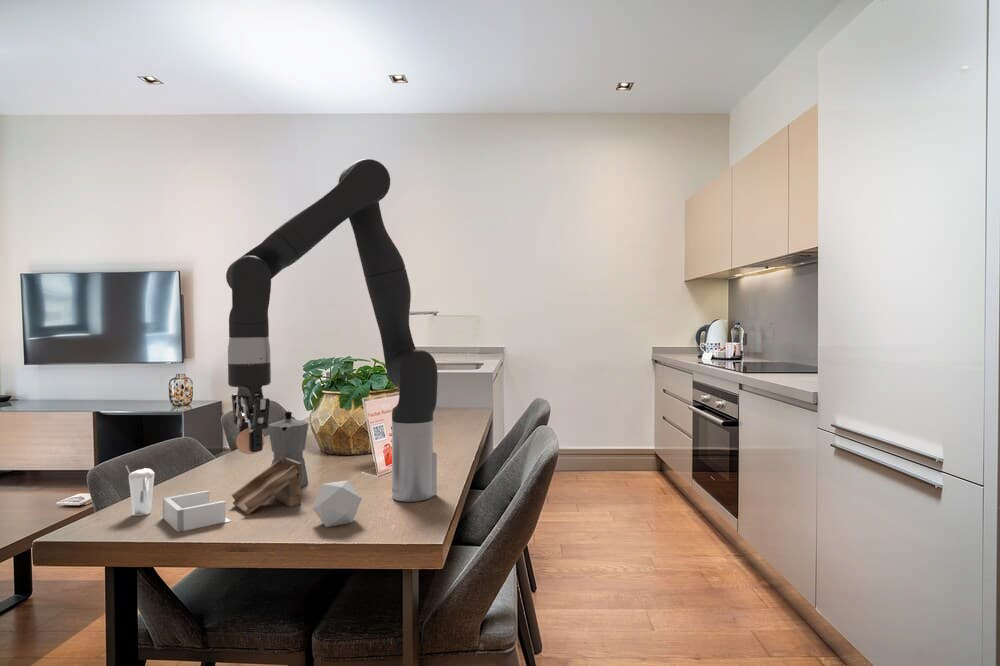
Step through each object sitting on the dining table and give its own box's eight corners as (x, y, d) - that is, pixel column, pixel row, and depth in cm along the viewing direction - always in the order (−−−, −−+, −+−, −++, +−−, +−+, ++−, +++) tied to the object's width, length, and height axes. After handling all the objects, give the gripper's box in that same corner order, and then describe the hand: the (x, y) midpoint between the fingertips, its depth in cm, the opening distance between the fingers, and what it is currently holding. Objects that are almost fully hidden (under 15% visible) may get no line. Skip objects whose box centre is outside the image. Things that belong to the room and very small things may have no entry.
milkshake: (132, 510, 120) (132, 462, 120) (159, 510, 120) (159, 462, 120) (119, 517, 115) (119, 468, 115) (147, 517, 115) (147, 467, 116)
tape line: (212, 508, 121) (212, 507, 121) (231, 521, 113) (231, 520, 113) (206, 509, 121) (206, 508, 121) (224, 522, 112) (224, 522, 112)
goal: (208, 509, 120) (208, 490, 120) (225, 522, 112) (225, 501, 112) (162, 518, 115) (162, 498, 115) (177, 532, 107) (177, 510, 107)
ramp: (286, 495, 130) (286, 457, 130) (301, 503, 124) (301, 463, 124) (231, 506, 122) (231, 465, 122) (244, 515, 116) (244, 472, 116)
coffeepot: (305, 491, 134) (305, 414, 134) (262, 493, 132) (262, 415, 132) (312, 475, 149) (312, 406, 149) (274, 477, 147) (274, 407, 147)
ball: (259, 450, 114) (258, 424, 114) (268, 453, 110) (268, 427, 110) (232, 454, 110) (232, 428, 110) (241, 458, 107) (241, 431, 107)
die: (353, 516, 118) (325, 479, 117) (377, 502, 113) (347, 464, 113) (326, 542, 111) (296, 503, 110) (350, 529, 106) (318, 488, 106)
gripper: (283, 361, 108) (285, 451, 108) (255, 359, 118) (257, 441, 118) (242, 363, 102) (243, 458, 102) (216, 360, 113) (218, 447, 113)
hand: (250, 448), depth 110 cm, fingers closed on ball, 5 cm apart
